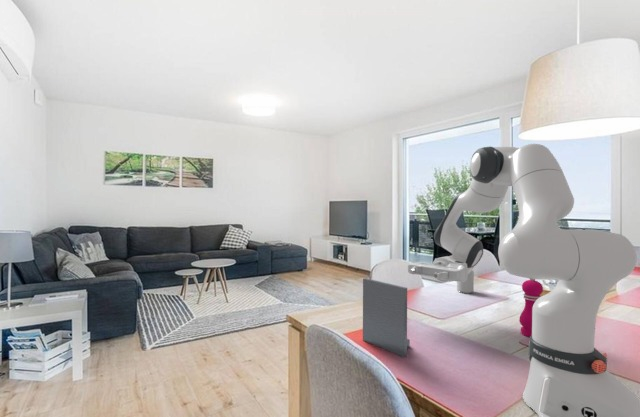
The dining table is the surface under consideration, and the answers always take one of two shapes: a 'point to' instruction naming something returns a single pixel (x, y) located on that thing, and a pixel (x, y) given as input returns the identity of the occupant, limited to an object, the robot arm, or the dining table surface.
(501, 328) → the dining table surface
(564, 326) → the robot arm
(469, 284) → the can
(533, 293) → the pepper mill
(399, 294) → the gray menu stand
